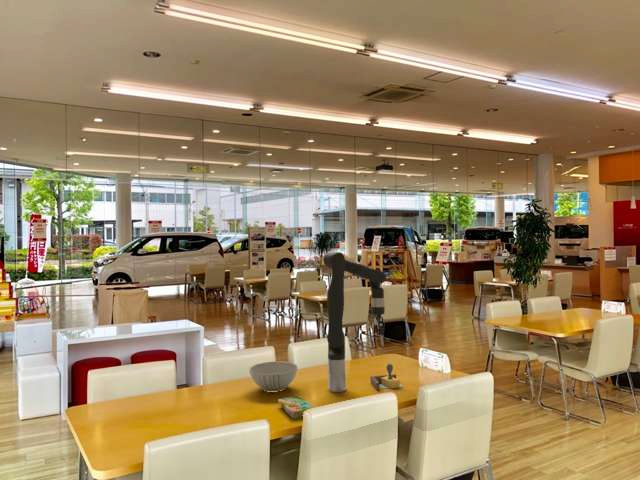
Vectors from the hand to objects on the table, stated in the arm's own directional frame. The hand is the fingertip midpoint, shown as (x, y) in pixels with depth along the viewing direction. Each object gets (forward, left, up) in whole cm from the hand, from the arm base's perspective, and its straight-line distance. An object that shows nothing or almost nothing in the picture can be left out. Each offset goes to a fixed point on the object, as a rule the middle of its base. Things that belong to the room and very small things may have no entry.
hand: (378, 333), depth 290 cm
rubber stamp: (+3, -12, -27) cm, 29 cm away
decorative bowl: (-61, -3, -27) cm, 67 cm away
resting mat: (+3, -12, -27) cm, 30 cm away
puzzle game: (-52, -39, -28) cm, 71 cm away
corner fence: (+1, -12, -27) cm, 29 cm away
